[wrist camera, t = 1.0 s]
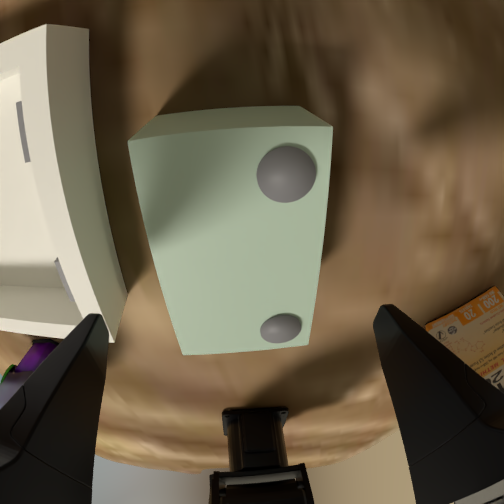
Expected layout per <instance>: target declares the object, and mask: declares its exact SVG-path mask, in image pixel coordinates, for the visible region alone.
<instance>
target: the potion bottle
mask: <svg viewBox="0 0 504 504" xmlns="http://www.w3.org/2000/svg"><path fill="white" fill-rule="evenodd" d="M59 344H60V343H58V342H55V341H53V340H51V339H40V340H33V346H32V347H31V348H30V350H29V351H28V352H27V354H26V355H25V356H24V358H23V359H22V360H21V362H20V363H19V365H18V366H17V365H13V364H12V365H10V366H9V367H8V369H7V370H6V372H5V373H4V375H3V377H2V380H1V383H0V409H1V408H2V407H3V406H4V405H5V404H6V403H7V402H8V400H9V399H10V398H11V397H12V396H13V395H14V394H15V393H16V391H17V390H18V389H19V388H20V387H21V386H22V385H24V382H25V381H26V380H27V379H28V378H29V377H30V375H31V374H32V373H33V372H34V371H35V370H36V369H37V368H38V366H39V365H40V364H41V363H42V362H43V361H44V360H45V359H46V358H47V357H48V356H49V354H50V353H51V352H52V351H53V350H54V349H55V348H56V347H57V346H58V345H59Z"/></svg>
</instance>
